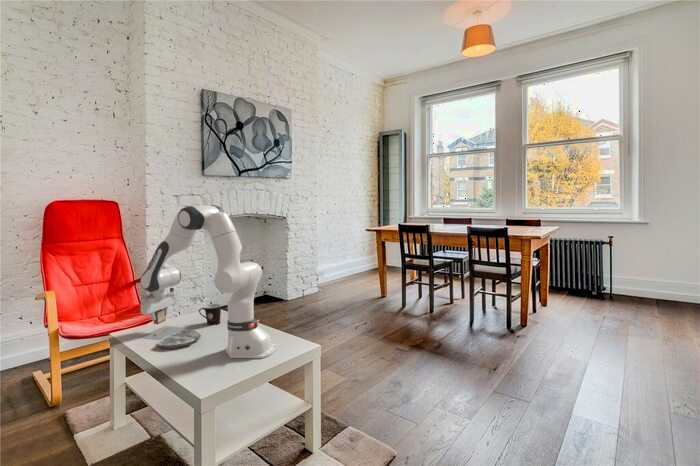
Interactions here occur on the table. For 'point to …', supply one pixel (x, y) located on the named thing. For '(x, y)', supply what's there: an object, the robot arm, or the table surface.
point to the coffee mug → (212, 313)
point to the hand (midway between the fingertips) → (159, 317)
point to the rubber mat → (169, 332)
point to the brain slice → (179, 339)
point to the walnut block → (160, 316)
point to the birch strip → (161, 331)
